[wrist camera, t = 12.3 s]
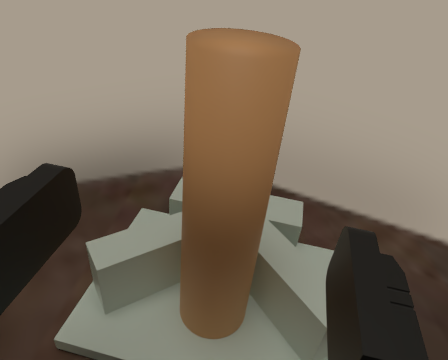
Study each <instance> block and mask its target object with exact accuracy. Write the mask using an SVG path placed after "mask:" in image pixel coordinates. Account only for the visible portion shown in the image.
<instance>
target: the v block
mask: <svg viewBox="0 0 448 360" xmlns="http://www.w3.org/2000/svg"><path fill="white" fill-rule="evenodd" d="M182 196H183V177H182V178H181V180H180V181H179V183H178V185H177V187H176V188H175V190H174V192H173V193H172V195H171V197H170V198H169V214H166V213H162V212H157V211H153V210H148V209H144V208H142V209H141V210H140V212H139V213H138V215H137V216H136V218H135V219H134V221H133V222H132V224H131V225H130V227H129V228H128V229H127V230H123V231H120V232H117V233H114V234H111V235H108V236H105V237H102V238H99V239H96V240H93V241H89V242H86V247H87V252H88V257H89V262H90V267H91V272H92V277H93V282H92V283H91V285H90V286H89V288H88V289H87V291H86V292H85V294H84V295H83V297H82V298H81V300H80V301H79V303H78V304H77V306H76V307H75V309H74V310H73V311H72V313H71V314H70V316H69V317H68V319H67V320H66V322H65V323H64V325H63V326H62V328H61V329H60V331H59V332H58V334H57V335H56V337H55V338H54V342H55V345H56V347H57V348H58V349H61V350H65V351H68V352H72V353H75V354H79V355H82V356H86V357H89V358H93V359H96V360H328V349H327V317H326V275H327V270H328V266H329V263H330V260H331V258H332V255H333V253H334V251H333V250H329V249H324V248H320V247H315V246H310V245H306V244H301V243H297V242H298V238H299V235H300V232H301V228H302V216H303V202H301V201H296V200H291V199H286V198H281V197H276V196H271V195H270V198H269V203H268V207H267V212H266V217H265V222H264V226H263V231H262V236H261V241H260V245H259V250H258V255H257V260H256V265H255V269H254V274H253V279H252V284H251V288H250V293H249V298H248V303H247V307H246V312H245V317H244V320H243V322H242V324H241V326H240V327H239V328H238V329H237V330H236V331H235V332H234V333H233V334H231V335H229V336H227V337H224V338H220V339H207V338H203V337H200V336H198V335H196V334H194V333H193V332H191V331H190V330H189V329H188V328H187V327H186V326H185V324H184V323H183V321H182V319H181V316H180V276H181V236H182Z"/></svg>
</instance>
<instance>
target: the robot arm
mask: <svg viewBox="0 0 448 360" xmlns="http://www.w3.org/2000/svg"><path fill="white" fill-rule="evenodd" d="M80 217H81V203H80V198H79V193H78V188H77V183H76V178H75V173H74V171H73V170H72V169H70V168H67V167H63V166H57V165H53V164H48V163H45V164H42V165H41V166H39V167H38V168H37V169H36V170H34V171H33V172H32V173H30V174H29V175H28V176H24V177H21V178H19V179H17V180H15V181H13V182H10V183H8V184H6V185H5V186H3V187H2V188H1V189H0V315H1V314H2V313H3V312H4V310H5V309H6V308H7V307H8V306H9V305H10V303H11V302H12V301H13V300H14V299H15V297H16V296H17V295H18V294H19V293H20V292H21V290H22V289H23V288H24V287H25V286H26V285H27V283H28V282H29V281H30V280H31V279H32V278H33V276H34V275H35V274H36V273H37V272H38V271H39V269H40V268H41V267H42V266H43V265H44V264H45V262H46V261H47V260H48V259H49V258H50V257H51V255H52V254H53V253H54V252H55V251H56V250H57V248H58V247H59V246H60V245H61V244H62V243H63V241H64V240H65V239H66V238H67V237H68V235H69V234H70V233H71V232H72V231H73V230H74V228H75V227H76V226H77V224H78V222H79V220H80ZM409 292H410V291H409V287H408V283H407V280H406V276H405V273H404V272H403V270H402V269H401V267H400V266H399V265H398V263H397V262H396V261H395V259H394V258H393V256H390V255H385V254H381V253H380V252H379V247H378V242H377V238H376V234H375V233H374V232H370V231H366V230H361V229H356V228H351V227H344V228H343V230H342V232H341V235H340V237H339V240H338V243H337V245H336V248H335V250H334V253H333V255H332V258H331V260H330V263H329V266H328V270H327V275H326V317H327V349H328V360H428V356H427V352H426V349H425V345H424V341H423V338H422V334H421V331H420V327H419V323H418V320H417V316H416V312H415V311H414V310H413V308H414V305H413V302H412V298H411V295H409Z"/></svg>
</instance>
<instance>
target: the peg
mask: <svg viewBox="0 0 448 360" xmlns="http://www.w3.org/2000/svg"><path fill="white" fill-rule="evenodd" d="M300 50H301V49H300V47H299V45H297V44H296V43H294V42H293V41H291V40H288V39H285V38H283V37H280V36H276V35H273V34H268V33H263V32H258V31H252V30H243V29H231V28H212V29H202V30H197V31H193V32H191V33H189V34H188V35H187V36H186V77H185V115H184V116H185V118H184V157H183V196H182V236H181V276H180V316H181V319H182V321H183V323H184V324H185V326H186V327H187V328H188V329H189V330H190V331H191V332H193V333H194V334H196V335H198V336H200V337H203V338H207V339H220V338H224V337H227V336H229V335H231V334H233V333H234V332H235V331H236V330H237V329H238V328H239V327H240V326H241V324H242V322H243V320H244V317H245V312H246V307H247V303H248V298H249V293H250V288H251V284H252V279H253V274H254V269H255V265H256V260H257V255H258V250H259V245H260V241H261V236H262V231H263V226H264V222H265V217H266V212H267V207H268V203H269V198H270V193H271V188H272V184H273V179H274V174H275V169H276V164H277V160H278V155H279V150H280V145H281V140H282V136H283V131H284V126H285V121H286V117H287V112H288V107H289V102H290V98H291V93H292V88H293V84H294V79H295V73H296V69H297V64H298V60H299V54H300Z"/></svg>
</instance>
